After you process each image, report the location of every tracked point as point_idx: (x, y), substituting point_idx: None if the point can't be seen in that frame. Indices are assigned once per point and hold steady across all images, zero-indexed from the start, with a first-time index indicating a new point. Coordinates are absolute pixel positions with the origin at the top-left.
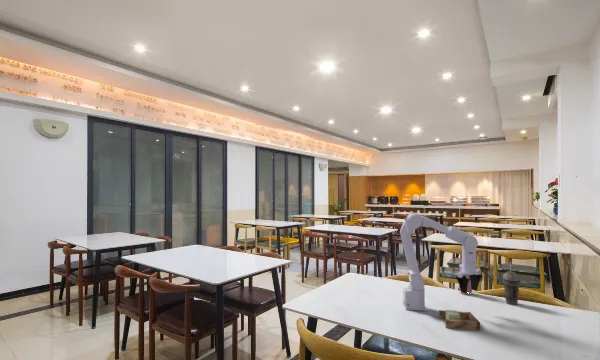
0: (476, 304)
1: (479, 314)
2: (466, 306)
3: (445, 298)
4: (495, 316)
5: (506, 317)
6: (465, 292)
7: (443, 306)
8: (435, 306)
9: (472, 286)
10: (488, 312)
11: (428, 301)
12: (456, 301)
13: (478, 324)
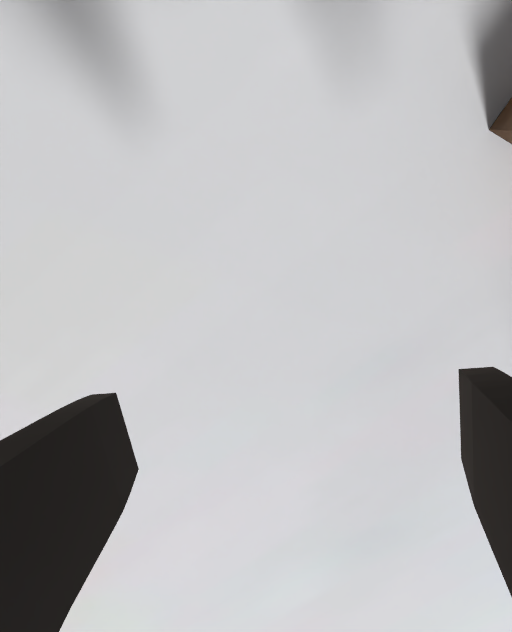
0: (58, 399)
1: (245, 202)
2: (196, 405)
3: (228, 596)
4: (113, 87)
5: (10, 14)
6: (505, 377)
7: (426, 495)
8: None
9: (103, 500)
10: (100, 206)
11: (450, 621)
12: (188, 518)
13: None
